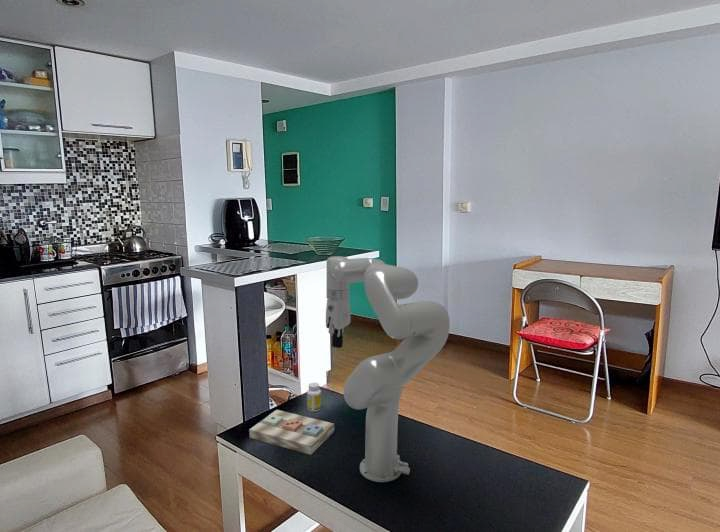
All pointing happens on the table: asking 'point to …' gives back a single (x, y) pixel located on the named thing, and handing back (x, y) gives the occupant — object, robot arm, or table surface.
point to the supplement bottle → (314, 397)
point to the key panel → (292, 433)
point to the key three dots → (292, 425)
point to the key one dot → (273, 420)
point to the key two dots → (312, 430)
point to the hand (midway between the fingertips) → (337, 346)
